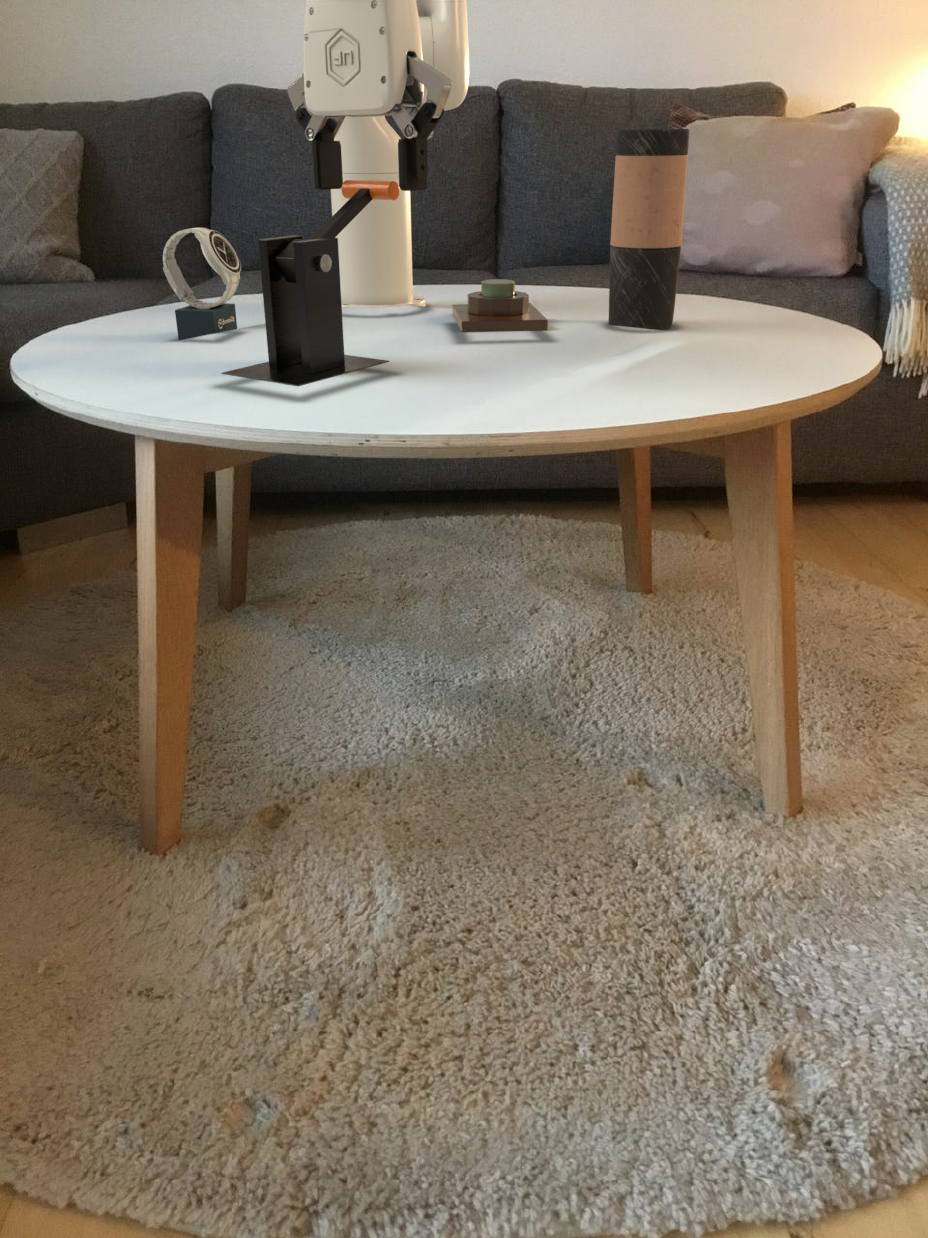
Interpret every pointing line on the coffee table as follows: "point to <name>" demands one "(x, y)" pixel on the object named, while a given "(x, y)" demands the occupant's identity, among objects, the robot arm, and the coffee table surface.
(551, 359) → the coffee table surface
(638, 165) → the travel mug
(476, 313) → the button block
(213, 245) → the watch
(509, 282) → the warm button
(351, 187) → the switch lever
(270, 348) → the switch bracket
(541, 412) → the coffee table surface
